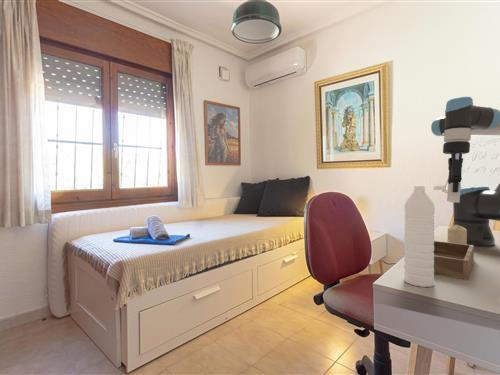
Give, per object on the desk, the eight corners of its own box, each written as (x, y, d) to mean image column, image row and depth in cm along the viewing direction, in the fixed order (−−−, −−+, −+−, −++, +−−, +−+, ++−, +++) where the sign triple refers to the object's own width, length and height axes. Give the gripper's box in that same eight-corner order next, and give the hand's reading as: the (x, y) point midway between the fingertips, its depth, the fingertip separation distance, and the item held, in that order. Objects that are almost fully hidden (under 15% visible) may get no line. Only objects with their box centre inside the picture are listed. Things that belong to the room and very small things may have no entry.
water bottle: (403, 284, 68) (403, 186, 68) (405, 276, 74) (405, 185, 73) (445, 291, 64) (446, 186, 63) (444, 282, 69) (444, 185, 68)
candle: (470, 254, 94) (470, 226, 94) (452, 254, 95) (452, 226, 95) (461, 251, 100) (461, 224, 99) (444, 250, 101) (444, 223, 101)
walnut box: (429, 254, 96) (429, 240, 96) (473, 260, 88) (473, 245, 88) (415, 270, 79) (415, 253, 79) (468, 280, 71) (468, 261, 71)
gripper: (442, 147, 108) (438, 200, 108) (445, 136, 87) (441, 201, 87) (465, 147, 104) (462, 201, 104) (475, 135, 83) (470, 203, 83)
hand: (452, 202), depth 96 cm, fingers open, 13 cm apart
